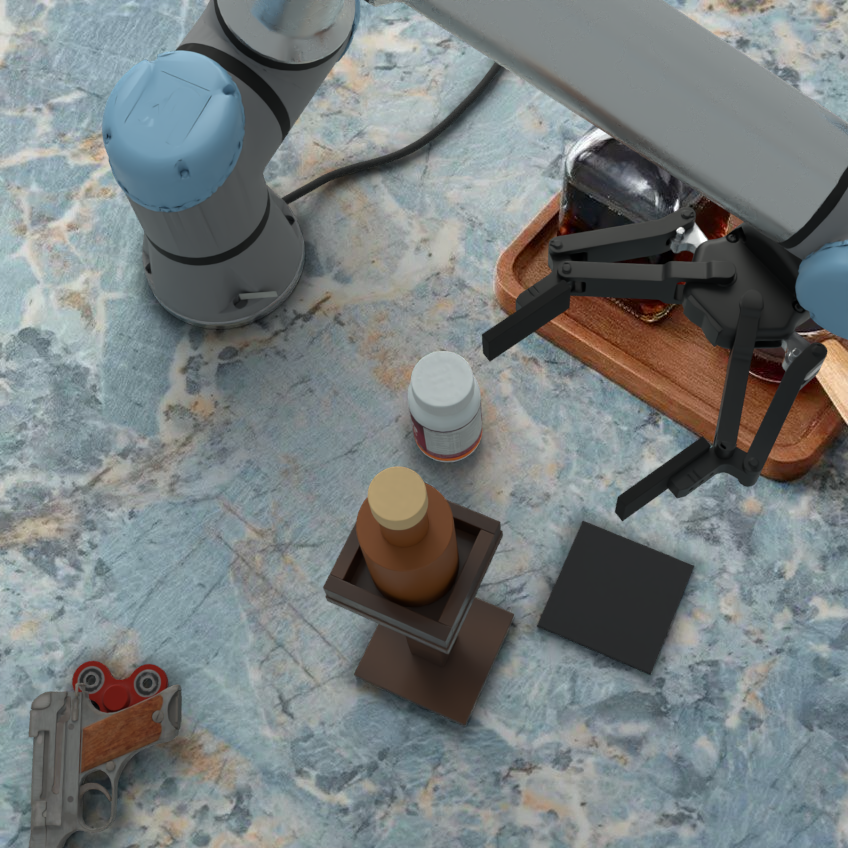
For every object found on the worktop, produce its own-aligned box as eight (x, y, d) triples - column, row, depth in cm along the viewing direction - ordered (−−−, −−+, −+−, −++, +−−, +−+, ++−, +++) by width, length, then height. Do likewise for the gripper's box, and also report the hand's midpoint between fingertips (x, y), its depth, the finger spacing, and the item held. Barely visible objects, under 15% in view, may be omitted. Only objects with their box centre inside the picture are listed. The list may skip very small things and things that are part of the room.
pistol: (183, 681, 106) (37, 684, 107) (177, 681, 104) (28, 683, 104) (178, 923, 103) (26, 925, 103) (171, 928, 100) (16, 930, 101)
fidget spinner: (118, 762, 106) (113, 760, 105) (50, 711, 108) (44, 709, 107) (177, 679, 108) (172, 677, 107) (109, 631, 110) (104, 628, 109)
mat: (582, 521, 112) (582, 520, 111) (693, 566, 109) (694, 565, 109) (537, 626, 108) (537, 625, 108) (650, 675, 106) (651, 674, 106)
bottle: (393, 507, 89) (372, 430, 77) (473, 541, 87) (465, 468, 75) (354, 585, 87) (327, 519, 74) (436, 621, 85) (422, 559, 73)
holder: (406, 570, 111) (376, 461, 88) (514, 616, 109) (512, 516, 86) (355, 677, 108) (310, 592, 85) (465, 727, 105) (450, 654, 82)
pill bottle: (414, 401, 117) (404, 344, 107) (482, 400, 117) (479, 343, 106) (413, 465, 115) (403, 413, 104) (483, 464, 114) (480, 412, 104)
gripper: (933, 409, 84) (674, 600, 80) (680, 153, 93) (437, 313, 89) (969, 357, 77) (688, 563, 73) (693, 86, 86) (430, 257, 82)
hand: (550, 426), depth 81 cm, fingers open, 13 cm apart
